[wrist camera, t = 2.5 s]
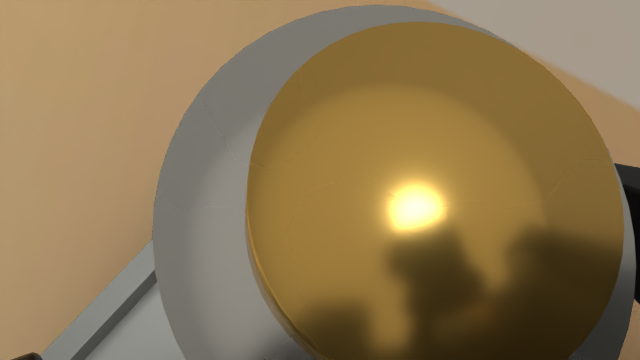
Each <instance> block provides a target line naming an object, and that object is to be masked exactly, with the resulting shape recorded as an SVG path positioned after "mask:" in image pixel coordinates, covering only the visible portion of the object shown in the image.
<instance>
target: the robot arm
mask: <svg viewBox="0 0 640 360" xmlns="http://www.w3.org/2000/svg"><path fill="white" fill-rule="evenodd" d="M614 165H615V167H616V170H617V172H618V174H619V177H620V179H621V183H622V186H623V189H624V192H625V196H626V199H627V202H628V205H629V210H630V216H631V221H632V227H633V232H634V240H635V257H636V276H635V292H634V299H635V300H636V301H637V302H638V303H639V304H640V168H638V167H632V166H627V165H622V164H616V163H614ZM12 360H43V359H42V358H41V356H40V355H38V354H37V353H33V352H32V353H29V354H26V355H23V356H20V357H17V358H15V359H12Z"/></svg>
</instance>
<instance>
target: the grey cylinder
mask: <svg viewBox="0 0 640 360" xmlns="http://www.w3.org/2000/svg"><path fill="white" fill-rule="evenodd" d="M152 241H153V252H154V264H155V274H156V278H157V282H158V287H159V291H160V296H161V300H162V304H163V308H164V311H165V313H166V316H167V319H168V321H169V324H170V327H171V329H172V332H173V335H174V337H175V340H176V342H177V344H178V346H179V348H180V349H181V351H182V353H183V355H184V357H185V359H186V360H617V359H618V357H619V354H620V351H621V348H622V345H623V342H624V339H625V336H626V333H627V330H628V327H629V322H630V316H631V311H632V306H633V301H634V292H635V276H636V257H635V240H634V232H633V227H632V221H631V216H630V210H629V205H628V202H627V199H626V196H625V192H624V189H623V186H622V183H621V179H620V177H619V174H618V172H617V170H616V167H615V165H614V163H613V160H612V158H611V156H610V154H609V151H608V149H607V148H606V146H605V144H604V141H603V139H602V137H601V135H600V134H599V132H598V130H597V128H596V127H595V125H594V123H593V122H592V120H591V118H590V117H589V115H588V114H587V113H586V111H585V110H584V108H583V107H582V106H581V104H580V103H579V102H578V100H577V99H576V98H575V97H574V96H573V95H572V93H571V92H570V91H569V90H568V89H567V88H566V87H565V86H564V85H563V84H562V83H561V81H559V80H558V79H557V78H556V77H555V76H554V75H553V74H551V73H550V72H549V71H548V70H547V69H546V68H545V67H543V66H542V65H541V64H539V63H538V62H537V61H535V60H534V59H532V58H531V57H529V56H528V55H527V54H525V53H524V52H522V51H521V50H519V49H518V48H516V47H515V46H513V45H512V44H511V43H509V42H507V41H505V40H503V39H502V38H500V37H498V36H496V35H494V34H492V33H491V32H489V31H487V30H485V29H483V28H480V27H478V26H475V25H473V24H471V23H468V22H466V21H463V20H461V19H458V18H455V17H451V16H448V15H444V14H441V13H437V12H434V11H429V10H423V9H417V8H412V7H406V6H389V5H366V6H351V7H344V8H339V9H334V10H328V11H323V12H319V13H316V14H313V15H310V16H307V17H303V18H300V19H297V20H294V21H292V22H290V23H288V24H286V25H283V26H281V27H279V28H277V29H275V30H273V31H271V32H268V33H267V34H265V35H264V36H262V37H261V38H259V39H257V40H256V41H254V42H253V43H251V44H250V45H248V46H246V47H245V48H243V49H242V50H241V51H240V52H239V53H237V54H236V55H235V56H234V57H233V58H232V59H230V60H229V61H228V62H227V63H226V64H224V65H223V66H222V67H221V68H220V69H219V70H218V71H217V72H216V74H215V75H214V76H213V77H212V78H211V79H210V80H209V81H208V82H207V84H206V85H205V86H204V87H203V88H202V89H201V90H200V92H199V93H198V95H197V96H196V98H195V99H194V101H193V102H192V104H191V105H190V107H189V108H188V109H187V111H186V112H185V114H184V116H183V118H182V120H181V122H180V124H179V126H178V128H177V130H176V132H175V134H174V136H173V138H172V140H171V142H170V144H169V147H168V150H167V153H166V156H165V159H164V162H163V165H162V168H161V171H160V175H159V181H158V186H157V191H156V197H155V202H154V214H153V234H152Z"/></svg>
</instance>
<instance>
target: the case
mask: <svg viewBox="0 0 640 360" xmlns="http://www.w3.org/2000/svg"><path fill="white" fill-rule="evenodd" d="M40 356H41V358H42V359H43V360H186V359H185V357H184V355H183V353H182V351H181V349H180V348H179V346H178V344H177V342H176V340H175V337H174V335H173V332H172V329H171V327H170V324H169V321H168V319H167V316H166V313H165V311H164V308H163V304H162V300H161V296H160V291H159V287H158V282H157V278H156V274H155V264H154V252H153V241H152V240H151V241H150V242H149V243H148V244H147V245H146V246H145V247H144V248H143V249H142V250H141V251H140V252H139V253H138V254H137V255H136V257H135V258H134V259H133V260H132V261H131V262H130V263H129V264H128V265H127V266H126V267H125V268H124V269H123V270H122V271H121V272H120V273H119V274H118V275H117V276H116V277H115V278H114V279H113V280H112V282H111V283H110V284H109V285H108V286H107V287H106V288H105V289H104V290H103V291H102V292H101V293H100V294H99V295H98V296H97V297H96V298H95V299H94V300H93V301H92V302H91V303H90V304H89V305H88V307H87V308H86V309H85V310H84V311H83V312H82V313H81V314H80V315H79V316H78V317H77V318H76V319H75V320H74V321H73V322H72V323H71V324H70V325H69V326H68V327H67V328H66V329H65V330H64V332H63V333H62V334H61V335H60V336H59V337H58V338H57V339H56V340H55V341H54V342H53V343H52V344H51V345H50V346H49V347H48V348H47V349H46V350H45V351H44V352H43V353H42V354H41V355H40Z"/></svg>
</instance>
